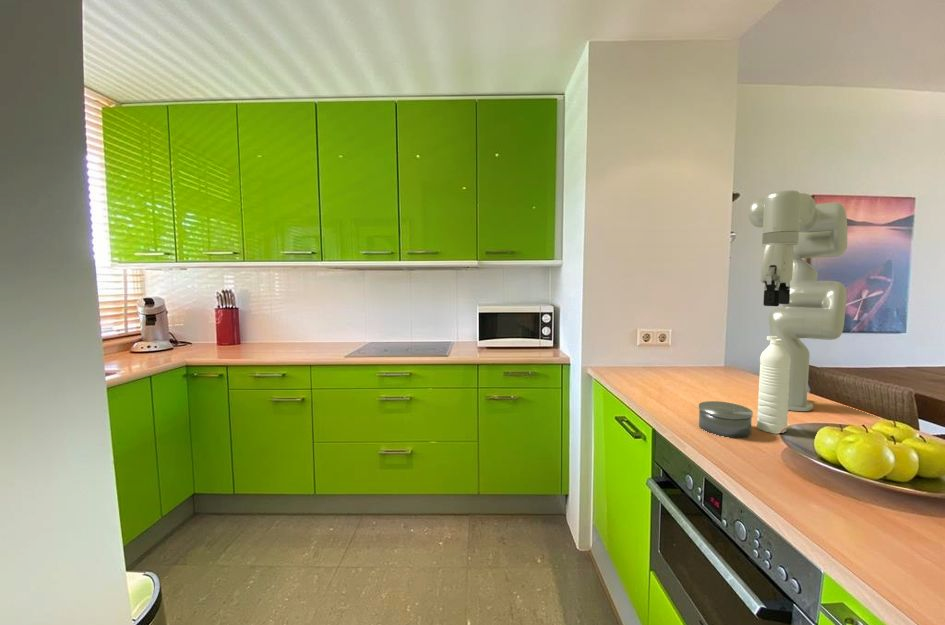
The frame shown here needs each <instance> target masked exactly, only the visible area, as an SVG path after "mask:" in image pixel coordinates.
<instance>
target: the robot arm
mask: <svg viewBox="0 0 945 625" xmlns="http://www.w3.org/2000/svg"><path fill="white" fill-rule="evenodd" d="M748 218H749V219H748V220H749V221H750V223H751V224H752V226H754V227H756V228H759V229H762V237H761V238H762V240H761V247H763V254H762V259H761V260H762V262H761V269H760V278H759V279H760V282H761V283H762V284H764V287H763V304H762V305H763V306H765V307H777V308H774V309H773V310H771V312H770V313H769V316H768V325H769V330H770V331H769V332H770V336H776V337H778V339H781V340H782V346H783V347H784V349H785V350H786V351H787V353H788V354H789V355H790V358H791V364H790V376H789V377H790V379H789V394H788V395H789V400H788V411H793V412H809V411H811V410H814V404H813V403H811V402H809V401H808V391H809V390H808V388H809V386H808V385H809V370H810V350H809V348H807V346H806V345H805V343H803V342H802V340H801V339H813V340H823V341H824V340H827V341H830V340H831V341H833V340H837V339H838V338H840V337H841V335H842V334H843V333H844V332H843V331H844V327H845V317H846V309H847V296H848V295H847V293H848V292H847V289H846V287H845V285H844V284H843V283H842V282H839V281H836V280H835V281H834V280H818V277H819V276H818V271H817V270H816V269H815V267H813V266H812V265H811V264H810V263H808V262H807V261H805V260H804V259H816V258H817V259H818V258H819V259H821V258H836V257H839V256H840V257H841V256H842V255H843V254H844V253H846V250H847V248H848V219H847V212H846V209H845V207H844V205H843V204H842V203H840V202H836V201H833V202H824V203H816V201H815V199H814V198H813V197H812V196H811V195H810V194H809V193H804V192H799V191H798V190H780V191H775V192H771V193H769V194H767V195H766V196H765V197H763V198H758V199H755V200H754V201H753V202H752V203H751V204H750V205H749V209H748ZM780 305H781V306H780ZM779 306H780V307H779Z"/></svg>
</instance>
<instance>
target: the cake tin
mask: <svg viewBox="0 0 945 625" xmlns="http://www.w3.org/2000/svg"><path fill="white" fill-rule="evenodd" d="M698 410H699V413H698V427H699V428H700V430H702V429H703V430H702V431H704V430H705V431H707V432H706V433H708V432H709V433H708V434H710V433H713V434H716V435H715V436H717V435H719V436H718V437H721V436H724V437H723V438H726V437H729V438H728V439H746V438H747V439H748V437H750V436H751V435H752V423H753V422H752V419H753V416H754V412H753V410H752V409H750V408H748V407H746V406H743V405H741V404H737V403H736V404H735V403H733V402H726V401H717V400H714V401H713V400H711V401H709V400H707V401H702V402H700V403H699V404H698ZM705 431H704V432H705ZM713 434H712V435H713Z"/></svg>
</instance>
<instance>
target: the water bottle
mask: <svg viewBox="0 0 945 625" xmlns="http://www.w3.org/2000/svg"><path fill="white" fill-rule="evenodd" d="M766 340H767V341H769V345H768V346H767V347H765V349H764V350H763V351H762V352H761V354H760V357H759V380H758V381H759V382H758V398H757V416H756V417H757V419H756V427H757V429H759V430H760V431H762V432H765V433H770V434H779V432H780V431H781V430H782V429H784V428H787V429H788V417H789V416H788V414H789V410H788V400H789V395H788V394H789V379H790V377H789V376H790V364H791V358H790V355H789V354H788V353H787V351H786V350H785V349H784V347H783V346H782V340H781V339H778V337H776V336H771V335H766Z"/></svg>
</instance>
